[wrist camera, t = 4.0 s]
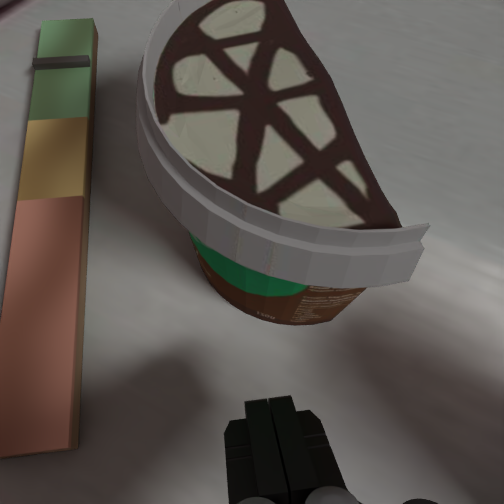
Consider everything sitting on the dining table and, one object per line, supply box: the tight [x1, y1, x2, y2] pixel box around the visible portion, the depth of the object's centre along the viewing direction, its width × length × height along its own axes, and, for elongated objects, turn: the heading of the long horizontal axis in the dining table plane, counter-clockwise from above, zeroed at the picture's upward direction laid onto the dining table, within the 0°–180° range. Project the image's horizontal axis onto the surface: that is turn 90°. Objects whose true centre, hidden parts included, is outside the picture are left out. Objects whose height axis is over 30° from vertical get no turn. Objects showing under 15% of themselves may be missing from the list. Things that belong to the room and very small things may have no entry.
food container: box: [136, 0, 430, 326], centre depth 16 cm, size 12×6×10 cm, turn 17°
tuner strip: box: [0, 18, 98, 459], centre depth 21 cm, size 3×24×2 cm, turn 7°
